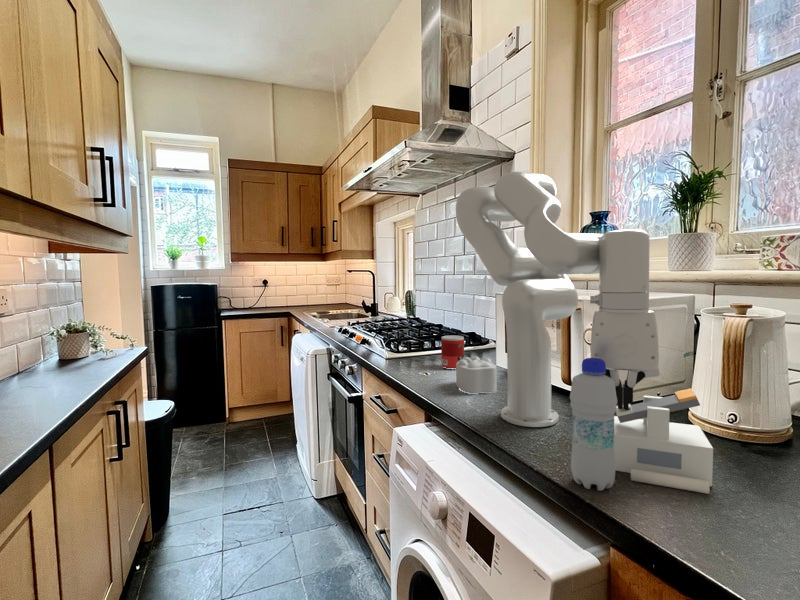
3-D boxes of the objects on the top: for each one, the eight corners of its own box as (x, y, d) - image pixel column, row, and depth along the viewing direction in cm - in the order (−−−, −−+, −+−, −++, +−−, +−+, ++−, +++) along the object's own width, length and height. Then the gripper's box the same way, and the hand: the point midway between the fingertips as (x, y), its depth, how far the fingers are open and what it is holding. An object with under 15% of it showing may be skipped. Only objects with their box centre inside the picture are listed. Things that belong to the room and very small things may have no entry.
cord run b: (631, 482, 65) (631, 471, 64) (630, 477, 66) (630, 466, 66) (709, 496, 60) (709, 484, 60) (706, 490, 62) (706, 478, 62)
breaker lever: (619, 414, 74) (615, 405, 75) (694, 397, 69) (690, 387, 69) (620, 423, 70) (616, 414, 70) (700, 405, 65) (696, 395, 65)
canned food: (462, 370, 140) (462, 338, 139) (439, 369, 142) (439, 338, 141) (465, 365, 147) (465, 335, 146) (443, 365, 149) (443, 335, 149)
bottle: (602, 472, 68) (603, 353, 67) (625, 493, 61) (627, 361, 60) (562, 473, 68) (562, 354, 67) (581, 495, 61) (582, 363, 60)
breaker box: (608, 446, 78) (608, 390, 77) (698, 459, 72) (699, 398, 71) (609, 469, 69) (610, 406, 68) (712, 487, 63) (714, 417, 62)
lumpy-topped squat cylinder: (465, 395, 112) (464, 364, 112) (450, 383, 125) (450, 355, 124) (501, 392, 114) (500, 362, 113) (483, 380, 127) (482, 353, 126)
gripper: (575, 304, 71) (575, 408, 72) (679, 304, 64) (677, 420, 65) (577, 301, 77) (577, 396, 78) (671, 301, 71) (670, 405, 72)
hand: (622, 407), depth 72 cm, fingers closed
